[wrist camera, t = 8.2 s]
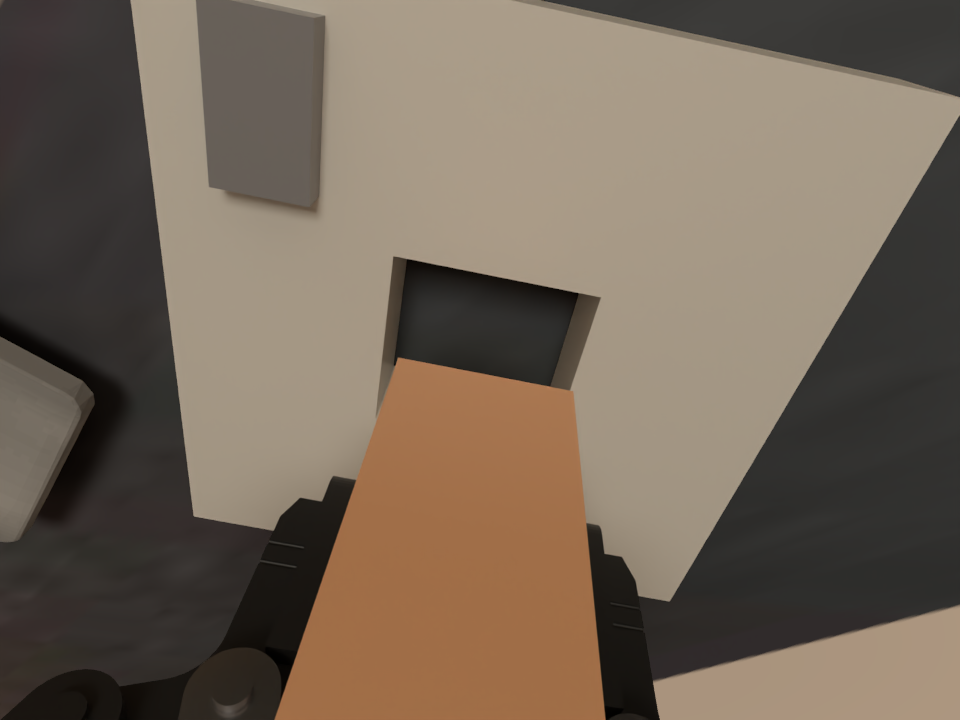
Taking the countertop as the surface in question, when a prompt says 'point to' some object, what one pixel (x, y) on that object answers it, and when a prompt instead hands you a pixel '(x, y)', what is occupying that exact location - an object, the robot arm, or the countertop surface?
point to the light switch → (34, 433)
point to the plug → (457, 564)
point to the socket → (509, 231)
